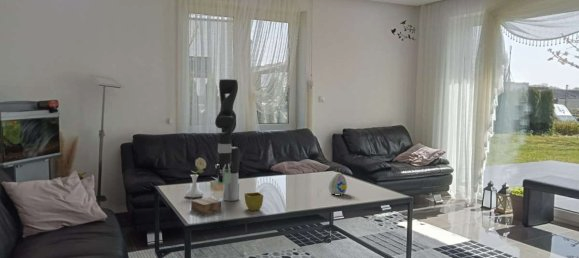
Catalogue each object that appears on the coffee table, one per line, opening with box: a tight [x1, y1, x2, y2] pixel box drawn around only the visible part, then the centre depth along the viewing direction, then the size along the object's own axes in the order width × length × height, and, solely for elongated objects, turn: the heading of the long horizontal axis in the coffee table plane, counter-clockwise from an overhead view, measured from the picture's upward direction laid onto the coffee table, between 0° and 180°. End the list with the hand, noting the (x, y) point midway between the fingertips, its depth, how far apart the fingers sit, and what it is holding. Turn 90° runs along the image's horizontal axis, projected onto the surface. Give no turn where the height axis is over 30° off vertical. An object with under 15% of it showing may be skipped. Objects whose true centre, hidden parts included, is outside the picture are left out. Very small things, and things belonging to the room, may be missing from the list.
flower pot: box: [244, 191, 264, 212], centre depth 252 cm, size 9×9×9 cm
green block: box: [217, 171, 231, 185], centre depth 245 cm, size 5×5×6 cm
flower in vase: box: [184, 157, 207, 198], centre depth 277 cm, size 13×11×25 cm
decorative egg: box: [328, 172, 348, 195], centre depth 296 cm, size 12×12×15 cm
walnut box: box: [190, 196, 222, 216], centre depth 247 cm, size 12×12×6 cm
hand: (224, 181), depth 245 cm, fingers closed on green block, 5 cm apart
